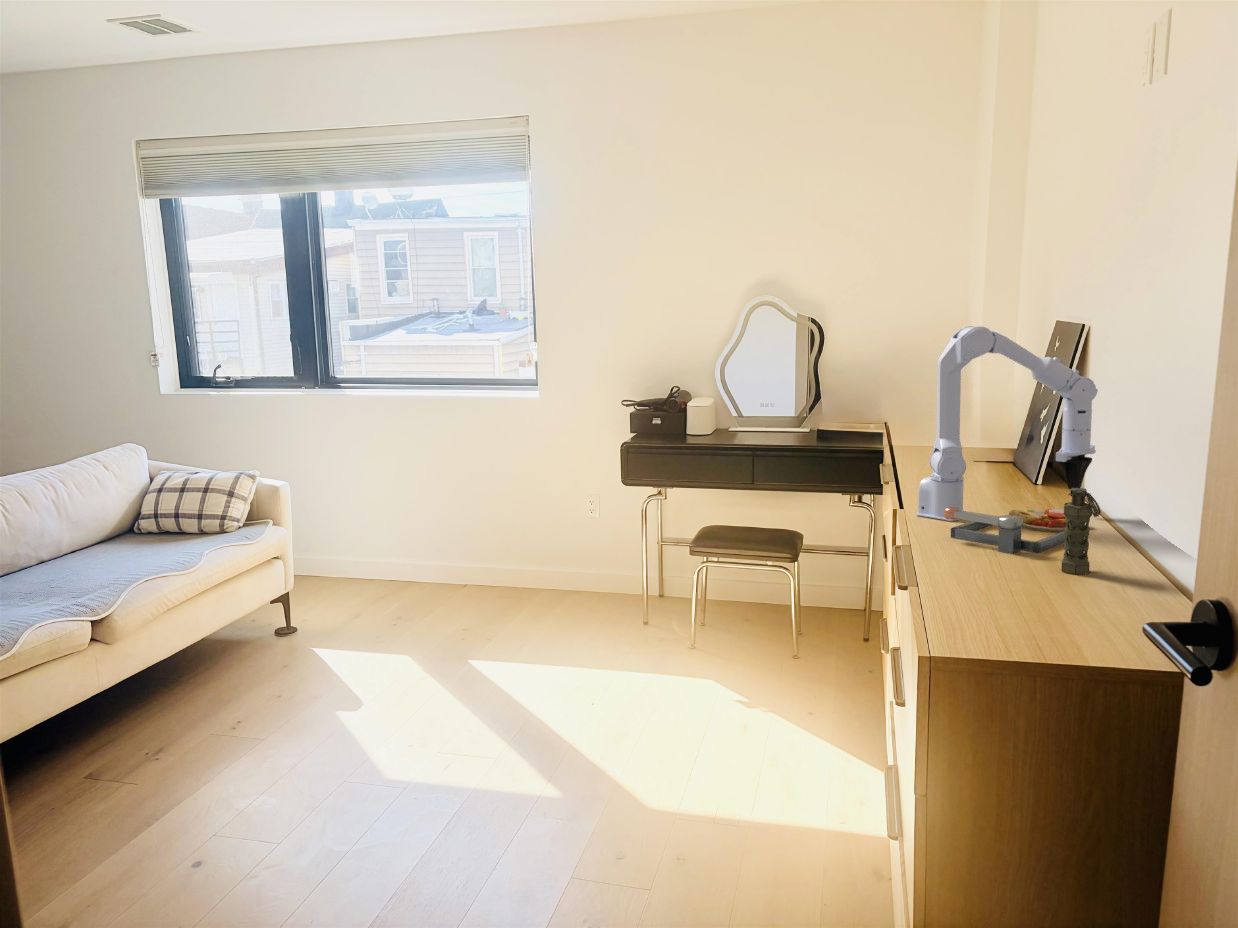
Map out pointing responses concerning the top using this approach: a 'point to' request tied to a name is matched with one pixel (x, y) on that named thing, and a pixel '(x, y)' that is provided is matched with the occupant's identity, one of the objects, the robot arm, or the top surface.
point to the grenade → (1078, 531)
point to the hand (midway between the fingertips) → (1074, 489)
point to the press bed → (1005, 538)
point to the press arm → (985, 518)
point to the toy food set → (1042, 519)
